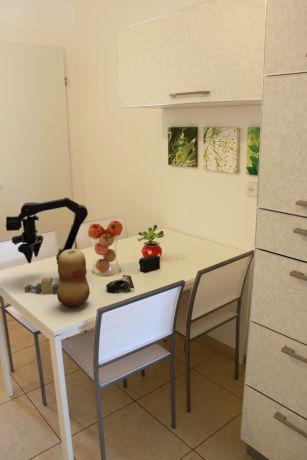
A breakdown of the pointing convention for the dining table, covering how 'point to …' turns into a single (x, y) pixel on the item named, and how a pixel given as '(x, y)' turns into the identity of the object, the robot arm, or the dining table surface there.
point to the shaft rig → (40, 288)
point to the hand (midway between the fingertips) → (32, 259)
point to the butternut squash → (72, 278)
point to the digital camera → (149, 263)
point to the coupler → (47, 285)
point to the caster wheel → (120, 284)
